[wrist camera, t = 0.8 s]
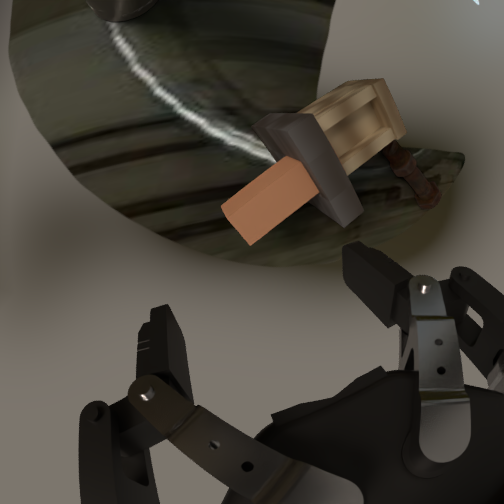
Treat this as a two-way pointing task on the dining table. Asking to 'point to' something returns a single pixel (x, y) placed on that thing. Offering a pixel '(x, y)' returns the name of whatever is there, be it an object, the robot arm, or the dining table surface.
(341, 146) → the frame
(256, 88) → the dining table surface
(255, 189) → the peg
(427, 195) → the bolt
